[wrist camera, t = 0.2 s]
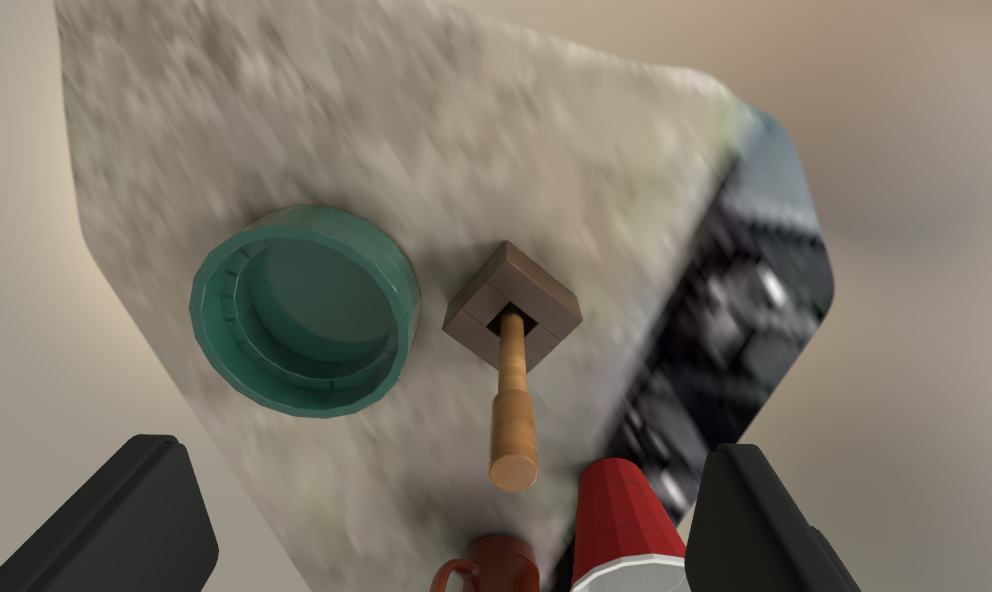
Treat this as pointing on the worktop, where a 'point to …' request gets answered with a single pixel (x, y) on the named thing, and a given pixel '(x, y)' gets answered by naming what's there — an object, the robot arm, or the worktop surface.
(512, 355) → the stick
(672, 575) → the plastic cup
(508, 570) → the mug
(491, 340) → the holder
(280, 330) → the bowl
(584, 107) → the worktop surface
